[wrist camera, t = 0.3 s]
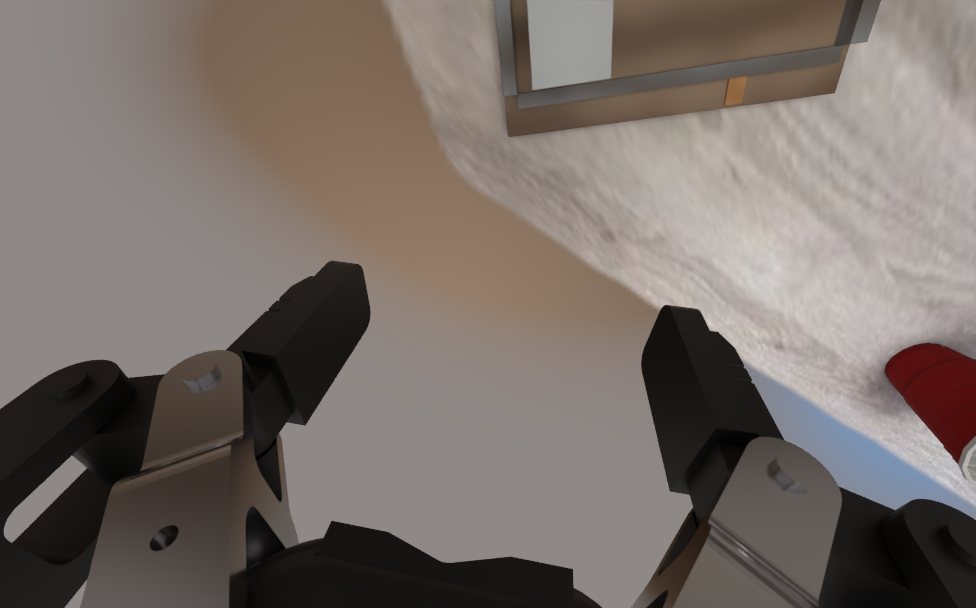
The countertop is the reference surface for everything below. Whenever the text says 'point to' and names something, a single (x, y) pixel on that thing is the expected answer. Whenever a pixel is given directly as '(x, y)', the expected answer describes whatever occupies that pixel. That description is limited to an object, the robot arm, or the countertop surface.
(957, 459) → the plastic cup
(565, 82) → the fader tab
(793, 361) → the countertop surface
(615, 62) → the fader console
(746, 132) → the countertop surface
